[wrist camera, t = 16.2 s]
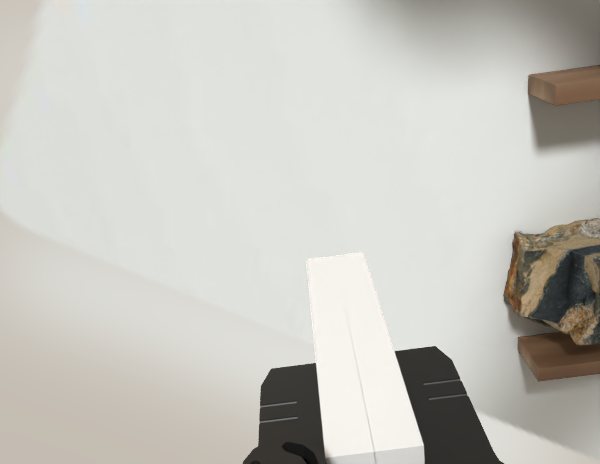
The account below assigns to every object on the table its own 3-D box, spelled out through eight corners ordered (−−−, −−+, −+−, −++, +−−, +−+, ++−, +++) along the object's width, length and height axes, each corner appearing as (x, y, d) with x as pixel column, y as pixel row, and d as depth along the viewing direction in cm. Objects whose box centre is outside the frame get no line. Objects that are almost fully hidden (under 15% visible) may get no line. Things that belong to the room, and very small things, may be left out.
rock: (502, 229, 41) (534, 264, 36) (629, 211, 41) (679, 245, 36) (501, 325, 45) (530, 370, 40) (618, 309, 45) (662, 353, 40)
